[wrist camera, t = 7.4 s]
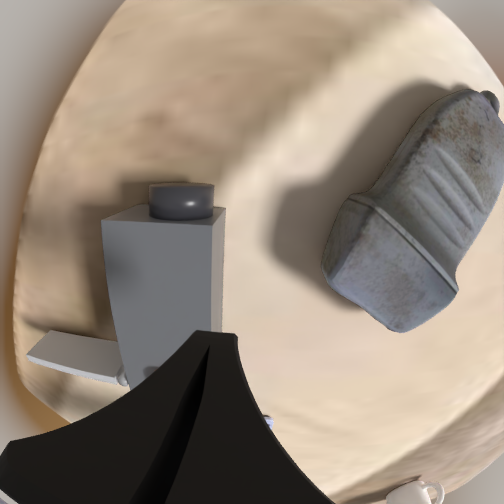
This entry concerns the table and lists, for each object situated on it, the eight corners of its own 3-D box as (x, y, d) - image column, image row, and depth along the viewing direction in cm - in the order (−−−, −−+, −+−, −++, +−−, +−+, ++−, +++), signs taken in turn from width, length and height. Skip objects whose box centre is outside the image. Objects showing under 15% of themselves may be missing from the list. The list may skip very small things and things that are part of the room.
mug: (426, 468, 30) (441, 509, 20) (444, 468, 31) (458, 504, 22) (377, 498, 34) (386, 536, 24) (399, 497, 35) (408, 531, 25)
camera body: (221, 359, 21) (211, 410, 16) (150, 349, 22) (126, 395, 16) (226, 182, 17) (211, 192, 12) (137, 180, 17) (93, 191, 12)
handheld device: (508, 137, 15) (543, 139, 10) (390, 318, 20) (413, 352, 16) (442, 52, 13) (476, 37, 9) (301, 254, 19) (312, 283, 15)
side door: (146, 342, 21) (125, 379, 17) (149, 354, 21) (130, 391, 17) (51, 328, 21) (25, 354, 17) (55, 339, 22) (30, 365, 17)
